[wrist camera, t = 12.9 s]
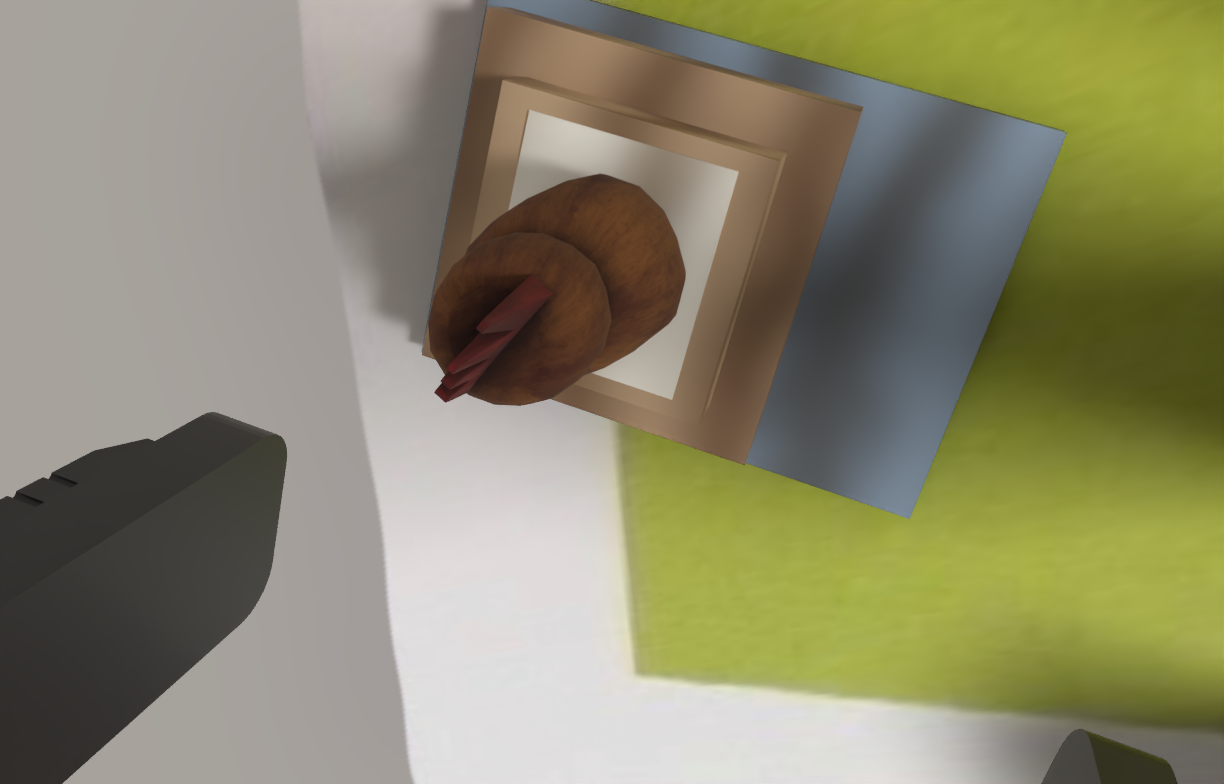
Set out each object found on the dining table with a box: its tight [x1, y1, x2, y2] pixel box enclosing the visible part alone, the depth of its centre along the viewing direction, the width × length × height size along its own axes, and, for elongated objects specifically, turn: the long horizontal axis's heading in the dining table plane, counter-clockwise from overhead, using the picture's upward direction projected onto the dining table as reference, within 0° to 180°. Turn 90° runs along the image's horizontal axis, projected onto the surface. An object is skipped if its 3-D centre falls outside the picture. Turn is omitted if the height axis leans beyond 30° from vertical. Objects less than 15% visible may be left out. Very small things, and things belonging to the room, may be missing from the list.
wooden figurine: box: [428, 174, 686, 406], centre depth 31 cm, size 7×6×15 cm
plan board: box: [422, 0, 1067, 518], centre depth 40 cm, size 22×16×6 cm
